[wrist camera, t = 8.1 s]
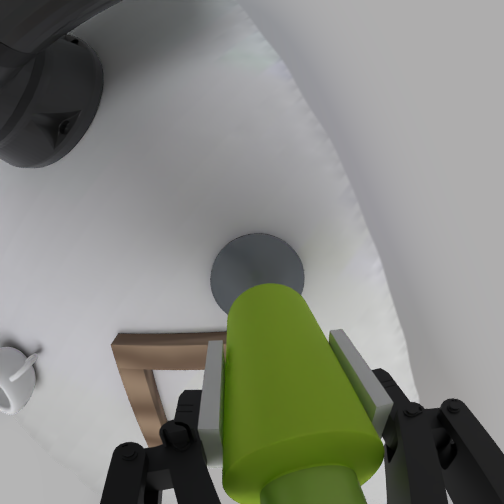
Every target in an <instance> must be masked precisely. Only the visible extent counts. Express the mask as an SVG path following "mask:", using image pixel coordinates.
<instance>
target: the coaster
mask: <svg viewBox="0 0 504 504" xmlns="http://www.w3.org/2000/svg"><path fill="white" fill-rule="evenodd" d="M210 280H211V290H212V293H213V296H214V298H215V300H216V302H217V304H218V305H219V306H220V308H221V309H222V310H223V311H224V312H225V313H226V314H229V311H230V308H231V306H232V304H233V303H234V301H235V300H236V299H237V298H238V297H239V296H240V295H241V294H242V293H243V292H245V291H246V290H248V289H250V288H252V287H254V286H257V285H261V284H268V283H274V284H281V285H285V286H287V287H290V288H292V289H293V290H295V291H296V292H298V293H299V294H300V295H301V293H302V291H303V287H304V269H303V265H302V263H301V260H300V258H299V256H298V255H297V253H296V252H295V251H294V250H293V249H292V248H291V246H290V245H288V244H287V243H286V242H285V241H283V240H281V239H279V238H277V237H275V236H272V235H268V234H249V235H245V236H242V237H239V238H237V239H235V240H233V241H231V242H230V243H229V244H227V245H226V246H225V247H224V248H223V249H222V250H221V252H220V253H219V254H218V256H217V258H216V259H215V262H214V264H213V267H212V271H211V278H210Z"/></svg>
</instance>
